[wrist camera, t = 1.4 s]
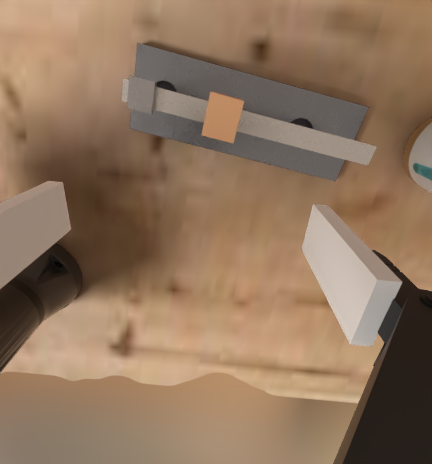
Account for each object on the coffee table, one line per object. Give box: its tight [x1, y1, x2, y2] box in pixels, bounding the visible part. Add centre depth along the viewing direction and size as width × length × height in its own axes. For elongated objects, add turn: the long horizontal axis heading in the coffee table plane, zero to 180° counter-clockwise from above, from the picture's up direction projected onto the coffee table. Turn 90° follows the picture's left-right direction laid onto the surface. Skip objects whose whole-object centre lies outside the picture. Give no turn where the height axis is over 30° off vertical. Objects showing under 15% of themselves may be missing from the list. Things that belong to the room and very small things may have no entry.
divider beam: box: [122, 75, 377, 166], centre depth 31 cm, size 26×3×11 cm, turn 77°
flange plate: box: [130, 43, 369, 181], centre depth 36 cm, size 30×10×1 cm, turn 77°
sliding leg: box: [202, 92, 244, 143], centre depth 29 cm, size 3×4×12 cm
